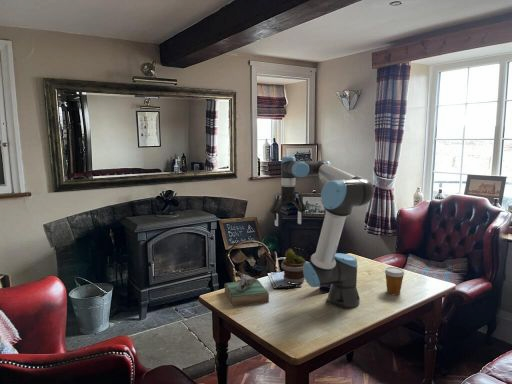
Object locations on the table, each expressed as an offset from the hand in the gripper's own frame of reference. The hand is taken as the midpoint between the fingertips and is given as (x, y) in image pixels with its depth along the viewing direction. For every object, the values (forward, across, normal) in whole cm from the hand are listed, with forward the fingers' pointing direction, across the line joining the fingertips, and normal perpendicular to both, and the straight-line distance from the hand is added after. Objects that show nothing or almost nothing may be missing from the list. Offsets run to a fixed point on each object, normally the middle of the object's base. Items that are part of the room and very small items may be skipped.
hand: (288, 224), depth 205 cm
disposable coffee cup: (+33, -45, +32) cm, 64 cm away
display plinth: (+32, +28, +11) cm, 44 cm away
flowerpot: (+32, -4, +1) cm, 33 cm away
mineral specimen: (+28, +28, +12) cm, 41 cm away
